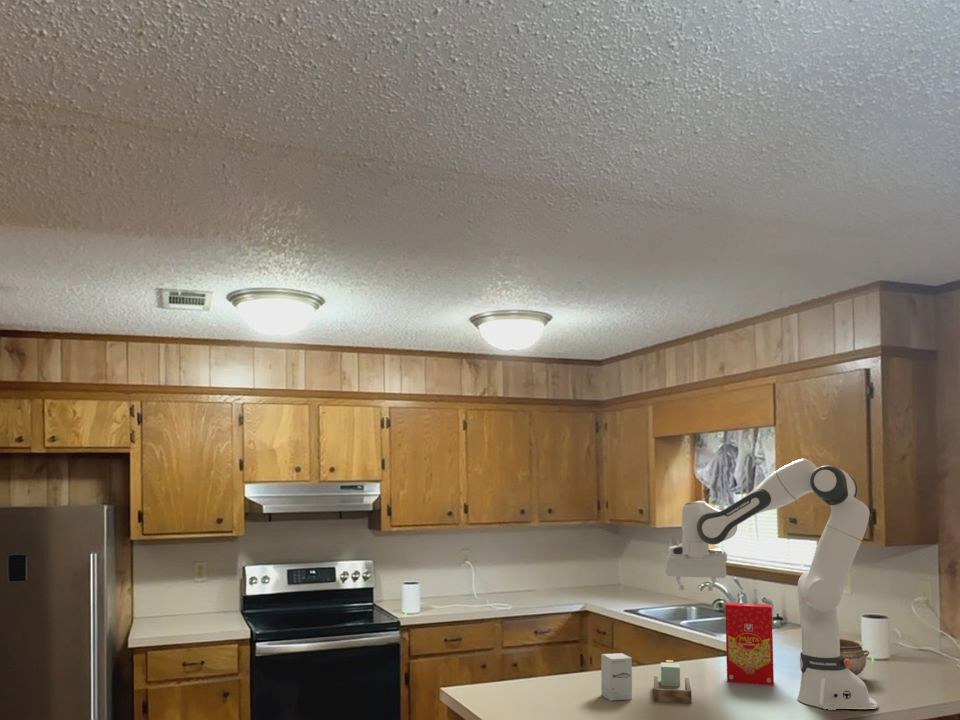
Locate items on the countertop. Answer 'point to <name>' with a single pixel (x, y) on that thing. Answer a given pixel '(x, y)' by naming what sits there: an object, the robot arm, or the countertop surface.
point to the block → (670, 673)
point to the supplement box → (616, 676)
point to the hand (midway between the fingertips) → (695, 590)
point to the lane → (672, 693)
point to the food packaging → (749, 643)
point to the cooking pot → (853, 654)
